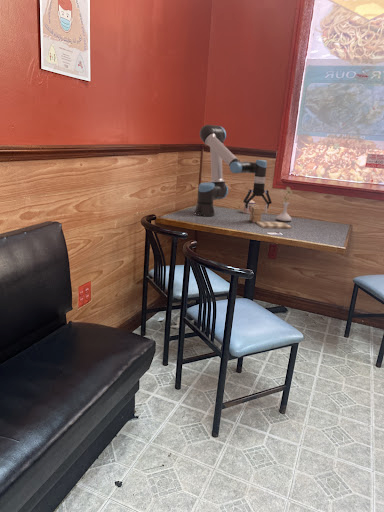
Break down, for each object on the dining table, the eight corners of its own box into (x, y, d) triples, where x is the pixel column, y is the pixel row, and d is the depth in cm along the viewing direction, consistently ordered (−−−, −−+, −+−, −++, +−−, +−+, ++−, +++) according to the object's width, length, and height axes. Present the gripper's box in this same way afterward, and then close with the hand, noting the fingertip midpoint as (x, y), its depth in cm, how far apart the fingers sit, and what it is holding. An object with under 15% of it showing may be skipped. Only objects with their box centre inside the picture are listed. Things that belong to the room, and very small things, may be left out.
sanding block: (260, 223, 281) (261, 209, 278) (253, 223, 280) (255, 209, 277) (256, 220, 290) (257, 207, 287) (249, 220, 289) (251, 206, 286)
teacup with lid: (241, 213, 315) (242, 198, 312) (244, 211, 323) (246, 197, 320) (256, 215, 311) (257, 200, 308) (258, 213, 319) (260, 198, 316)
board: (262, 228, 266) (263, 225, 265) (256, 223, 279) (256, 221, 279) (291, 228, 269) (291, 226, 269) (283, 224, 283) (283, 222, 282)
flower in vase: (291, 223, 290) (296, 188, 283) (275, 221, 292) (280, 187, 284) (291, 219, 302) (295, 186, 295) (275, 218, 304) (280, 185, 297)
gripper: (243, 182, 271) (241, 213, 277) (278, 184, 276) (274, 214, 281) (240, 181, 278) (238, 211, 284) (274, 182, 283) (271, 212, 288)
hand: (256, 213), depth 283 cm, fingers open, 13 cm apart
